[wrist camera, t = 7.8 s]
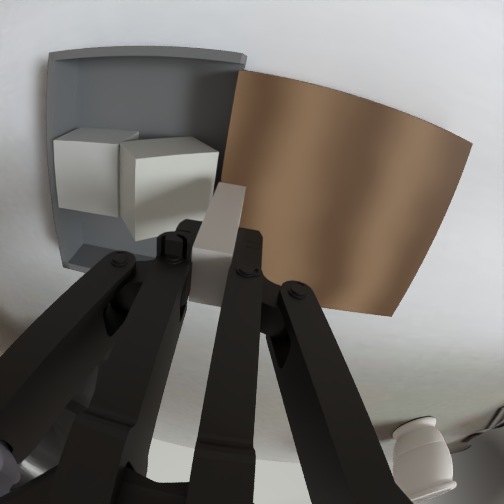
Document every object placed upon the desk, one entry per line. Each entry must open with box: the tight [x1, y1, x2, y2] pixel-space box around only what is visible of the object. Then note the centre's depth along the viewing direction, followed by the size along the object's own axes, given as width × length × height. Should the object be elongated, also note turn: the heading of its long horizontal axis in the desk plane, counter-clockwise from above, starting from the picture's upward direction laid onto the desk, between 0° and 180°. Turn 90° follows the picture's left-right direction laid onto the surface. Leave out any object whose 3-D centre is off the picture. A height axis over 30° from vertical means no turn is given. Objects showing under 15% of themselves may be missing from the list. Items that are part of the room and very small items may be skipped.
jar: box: [393, 417, 456, 504], centre depth 38 cm, size 11×10×15 cm
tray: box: [46, 46, 247, 273], centre depth 20 cm, size 12×17×4 cm
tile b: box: [119, 136, 219, 241], centre depth 18 cm, size 5×5×4 cm
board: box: [221, 70, 472, 317], centre depth 20 cm, size 15×15×4 cm
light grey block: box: [53, 127, 139, 217], centre depth 19 cm, size 5×5×4 cm
